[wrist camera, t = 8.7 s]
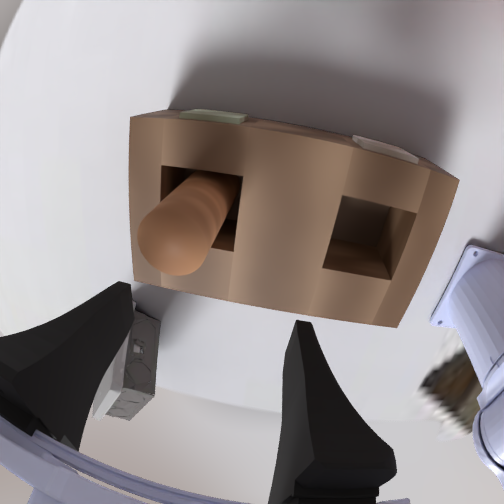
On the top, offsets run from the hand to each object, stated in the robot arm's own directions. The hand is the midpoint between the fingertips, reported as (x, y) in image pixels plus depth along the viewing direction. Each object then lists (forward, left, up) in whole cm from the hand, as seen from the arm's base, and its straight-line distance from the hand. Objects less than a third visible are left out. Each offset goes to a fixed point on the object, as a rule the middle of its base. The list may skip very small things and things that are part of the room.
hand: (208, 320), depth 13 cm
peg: (+2, -3, -9) cm, 9 cm away
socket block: (-3, -2, -10) cm, 10 cm away
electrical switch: (+9, +14, -10) cm, 19 cm away
